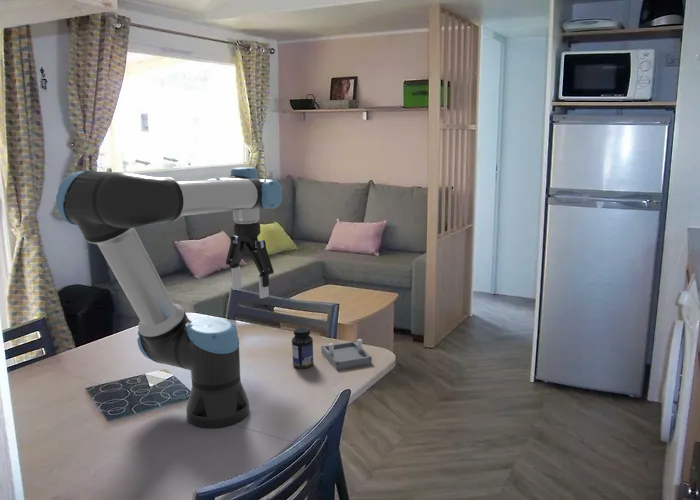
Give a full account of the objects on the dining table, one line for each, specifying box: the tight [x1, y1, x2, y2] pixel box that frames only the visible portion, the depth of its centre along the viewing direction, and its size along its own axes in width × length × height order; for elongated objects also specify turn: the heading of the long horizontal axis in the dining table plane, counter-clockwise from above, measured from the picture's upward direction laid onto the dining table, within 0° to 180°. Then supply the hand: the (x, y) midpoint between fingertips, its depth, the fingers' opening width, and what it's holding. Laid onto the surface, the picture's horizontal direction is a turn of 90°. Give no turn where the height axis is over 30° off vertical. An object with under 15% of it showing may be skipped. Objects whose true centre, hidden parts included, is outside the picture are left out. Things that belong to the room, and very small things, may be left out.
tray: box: [320, 338, 373, 370], centre depth 181 cm, size 14×11×5 cm
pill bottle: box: [291, 326, 314, 369], centre depth 175 cm, size 6×6×11 cm
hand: (250, 293), depth 176 cm, fingers open, 13 cm apart
